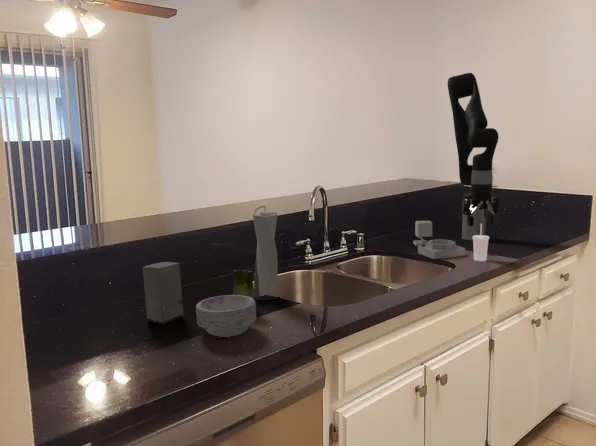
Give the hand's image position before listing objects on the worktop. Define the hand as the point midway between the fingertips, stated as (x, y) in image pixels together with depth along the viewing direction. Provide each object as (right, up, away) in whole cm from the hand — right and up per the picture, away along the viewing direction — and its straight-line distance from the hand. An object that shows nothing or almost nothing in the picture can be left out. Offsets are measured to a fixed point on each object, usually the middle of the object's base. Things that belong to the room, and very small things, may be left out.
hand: (480, 225), depth 207 cm
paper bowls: (-87, -27, -66) cm, 112 cm away
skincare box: (-106, -26, -55) cm, 122 cm away
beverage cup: (+1, -13, +2) cm, 14 cm away
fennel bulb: (-85, -25, -49) cm, 101 cm away
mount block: (-12, -12, +13) cm, 21 cm away
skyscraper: (-79, -22, -37) cm, 89 cm away
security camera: (-14, -9, +33) cm, 37 cm away
